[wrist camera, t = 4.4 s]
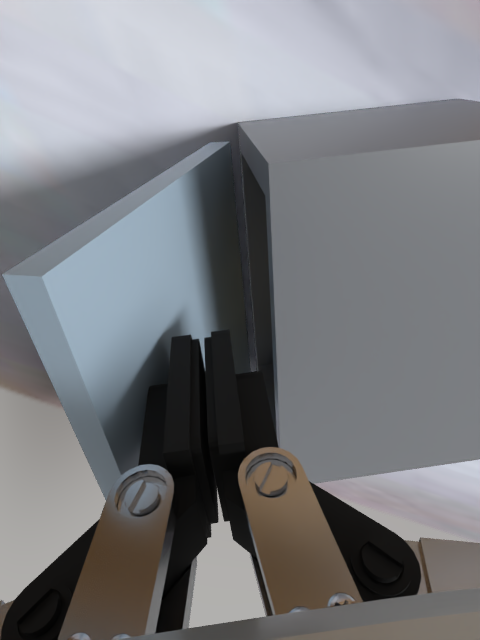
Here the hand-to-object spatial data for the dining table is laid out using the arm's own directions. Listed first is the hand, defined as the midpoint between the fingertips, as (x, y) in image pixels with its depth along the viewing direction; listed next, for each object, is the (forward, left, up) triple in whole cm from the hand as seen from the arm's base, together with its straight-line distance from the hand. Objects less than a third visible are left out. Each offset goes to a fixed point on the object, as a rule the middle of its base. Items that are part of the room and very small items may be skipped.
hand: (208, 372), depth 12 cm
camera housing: (+1, +7, -8) cm, 11 cm away
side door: (+1, +1, -8) cm, 8 cm away
